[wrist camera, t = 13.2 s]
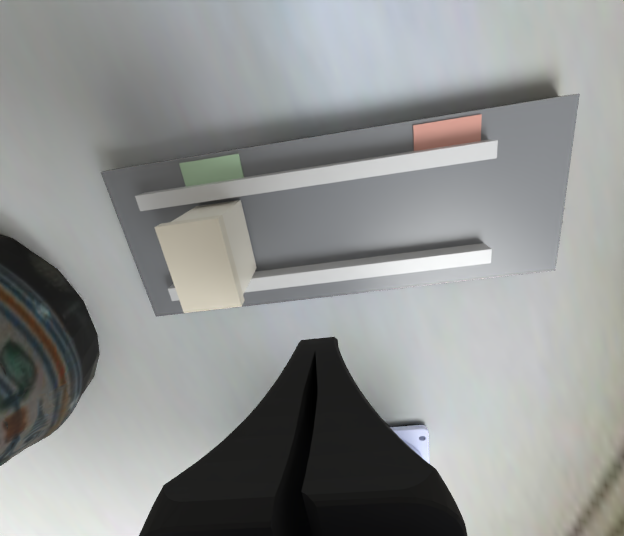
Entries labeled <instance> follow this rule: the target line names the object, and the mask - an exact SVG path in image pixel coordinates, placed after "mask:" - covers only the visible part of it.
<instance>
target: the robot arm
mask: <svg viewBox="0 0 624 536" xmlns="http://www.w3.org/2000/svg"><path fill="white" fill-rule="evenodd" d="M139 536H467V532H466V526H465V523H464V520H463V518H462V515H461V513H460V511H459V509H458V507H457V505H456V503H455V501H454V499H453V497H452V495H451V493H450V491H449V490H448V488H447V486H446V484H445V483H444V481H443V480H442V478H441V476H440V475H439V473H438V472H437V470H436V469H435V468H434V467H433V466H431V465H430V461H429V432H428V429H427V427H426V426H424V425H414V426H400V427H389V426H388V425H387V424H386V423H385V422H384V421H383V420H382V418H381V417H380V416H379V415H378V414H377V412H376V411H375V410H374V409H373V407H372V406H371V405H370V404H369V402H368V401H367V400H366V398H365V397H364V395H363V394H362V392H361V391H360V389H359V388H358V386H357V385H356V383H355V381H354V380H353V378H352V376H351V375H350V373H349V371H348V369H347V367H346V365H345V363H344V361H343V358H342V356H341V353H340V351H339V347H338V341H337V339H336V338H335V337H329V338H319V339H309V340H301V341H300V342H299V344H298V346H297V348H296V349H295V351H294V353H293V355H292V357H291V358H290V360H289V362H288V363H287V365H286V367H285V368H284V370H283V371H282V373H281V374H280V376H279V378H278V379H277V380H276V382H275V383H274V385H273V386H272V387H271V389H270V390H269V392H268V393H267V394H266V396H265V397H264V398H263V399H262V401H261V402H260V403H259V404H258V406H257V407H256V408H255V409H254V410H253V411H252V412H251V414H250V415H249V416H248V417H247V418H246V419H245V420H244V421H243V422H242V423H241V424H240V425H239V426H238V427H237V428H236V429H235V430H234V431H233V432H232V433H231V434H230V435H229V436H228V437H227V438H225V439H224V440H223V441H222V442H221V443H220V444H219V445H217V446H216V447H215V448H214V449H213V450H211V451H210V452H209V453H208V454H206V455H205V456H204V457H203V458H201V459H200V460H199V461H198V462H196V463H195V464H193V465H192V466H191V467H189V468H188V469H186V470H185V471H184V472H182V473H181V474H179V475H178V476H177V477H175V478H174V479H172V480H171V481H169V482H168V483H166V484H165V485H164V486H163V488H162V490H161V492H160V493H159V495H158V497H157V499H156V501H155V502H154V505H153V507H152V509H151V511H150V513H149V515H148V517H147V519H146V522H145V524H144V526H143V528H142V530H141V533H140V535H139Z"/></svg>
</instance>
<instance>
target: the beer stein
mask: <svg viewBox="0 0 624 536" xmlns="http://www.w3.org/2000/svg"><path fill="white" fill-rule="evenodd" d="M98 358H99V345H98V336H97V333H96V330H95V328H94V325H93V323H92V321H91V318H90V316H89V314H88V311H87V309H86V306H85V304H84V302H83V300H82V299H81V298H80V296H79V295H78V294H77V293H76V291H75V290H74V289H73V288H72V286H71V285H70V284H69V283H68V281H67V280H66V279H65V278H64V277H63V275H62V274H61V273H60V272H59V270H58V269H56V268H55V267H53V266H52V265H51V264H49V263H48V262H46V261H45V260H43V259H42V258H40V257H39V256H37V255H36V254H35V253H33V252H32V251H30V250H29V249H27V248H26V247H24V246H23V245H21V244H20V243H19V242H17V241H16V240H14V239H13V238H10V237H6V236H3V235H0V466H1V465H2V464H4V463H5V462H7V461H8V460H10V459H11V458H12V457H14V456H15V455H17V454H18V453H20V452H21V451H23V450H24V449H26V448H27V447H29V446H31V445H33V444H35V443H37V442H39V441H40V440H42V439H44V438H46V437H47V436H49V435H50V434H52V433H53V432H54V431H55V430H57V429H58V428H59V427H60V426H61V425H62V424H63V423H64V422H65V420H66V419H67V418H68V417H69V416H70V414H71V413H72V411H73V410H74V408H75V407H76V405H77V403H78V401H79V399H80V397H81V395H82V393H83V392H84V391H85V389H86V388H87V386H88V385H89V383H90V382H91V380H92V379H93V377H94V375H95V370H96V366H97V362H98Z"/></svg>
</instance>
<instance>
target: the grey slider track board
mask: <svg viewBox="0 0 624 536" xmlns="http://www.w3.org/2000/svg"><path fill="white" fill-rule="evenodd" d="M578 101H579V94H573V95H565V96H558V97H552V98H546V99H540V100H534V101H528V102H521V103H515V104H509V105H503V106H497V107H491V108H485V109H479V110H473V111H466V112H460V113H454V114H448V115H442V116H436V117H430V118H424V119H418V120H412V121H405V122H399V123H393V124H387V125H381V126H375V127H369V128H363V129H357V130H351V131H344V132H338V133H332V134H326V135H320V136H314V137H308V138H302V139H296V140H289V141H283V142H277V143H271V144H265V145H259V146H253V147H247V148H241V149H235V150H228V151H222V152H216V153H210V154H204V155H198V156H192V157H186V158H180V159H173V160H167V161H161V162H155V163H149V164H143V165H137V166H131V167H125V168H119V169H113V170H108V171H103V172H101V174H102V177H103V179H104V182H105V185H106V187H107V190H108V192H109V195H110V198H111V200H112V203H113V206H114V208H115V211H116V213H117V216H118V219H119V221H120V224H121V226H122V229H123V232H124V234H125V237H126V239H127V242H128V245H129V247H130V250H131V253H132V255H133V258H134V260H135V263H136V266H137V268H138V271H139V273H140V276H141V279H142V281H143V284H144V287H145V289H146V292H147V294H148V297H149V300H150V302H151V305H152V307H153V310H154V313H155V315H156V316H164V315H173V314H181V313H184V312H183V309H182V306H181V303H180V300H179V298H178V295H177V292H176V289H175V286H174V283H173V280H172V277H171V274H170V271H169V268H168V266H167V263H166V260H165V257H164V254H163V251H162V248H161V245H160V242H159V239H158V236H157V234H156V231H155V228H154V227H156V226H158V225H159V224H162V223H169V222H171V221H173V220H175V219H176V218H178V217H180V216H181V215H183V214H185V213H186V212H188V211H189V210H191V209H193V208H194V207H196V206H202V205H209V204H216V203H222V202H229V201H236V200H241V203H242V207H243V212H244V216H245V220H246V224H247V229H248V233H249V237H250V242H251V246H252V250H253V254H254V259H255V263H256V267H257V268H256V270H255V272H254V274H253V276H252V278H251V280H250V282H249V284H248V286H247V288H246V290H245V292H244V294H243V296H244V303H243V305H242V306H251V305H260V304H268V303H277V302H286V301H294V300H303V299H312V298H321V297H329V296H338V295H347V294H355V293H364V292H373V291H381V290H390V289H399V288H407V287H416V286H425V285H433V284H442V283H451V282H460V281H468V280H477V279H486V278H494V277H503V276H512V275H520V274H529V273H538V272H546V271H555V270H556V263H557V256H558V248H559V241H560V234H561V226H562V219H563V212H564V204H565V197H566V190H567V182H568V175H569V168H570V160H571V153H572V146H573V138H574V131H575V123H576V116H577V109H578Z"/></svg>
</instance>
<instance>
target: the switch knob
mask: <svg viewBox="0 0 624 536" xmlns="http://www.w3.org/2000/svg"><path fill="white" fill-rule="evenodd" d="M154 228H155V231H156V234H157V236H158V239H159V242H160V245H161V248H162V251H163V254H164V257H165V260H166V263H167V266H168V268H169V271H170V274H171V277H172V280H173V283H174V286H175V289H176V292H177V295H178V298H179V300H180V303H181V306H182V309H183V312H184V313H190V312H199V311H208V310H216V309H225V308H234V307H242V305H243V303H244V296H243V294H244V292H245V290H246V288H247V286H248V284H249V282H250V280H251V278H252V276H253V274H254V272H255V270H256V268H257V267H256V263H255V259H254V254H253V250H252V246H251V242H250V237H249V233H248V229H247V224H246V220H245V216H244V212H243V207H242V203H241V200H236V201H229V202H222V203H216V204H209V205H202V206H196V207H194V208H193V209H191V210H189V211H188V212H186V213H185V214H183V215H181V216H180V217H178V218H176V219H175V220H173V221H171V222H169V223H162V224H159V225H158V226H156V227H154Z"/></svg>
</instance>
